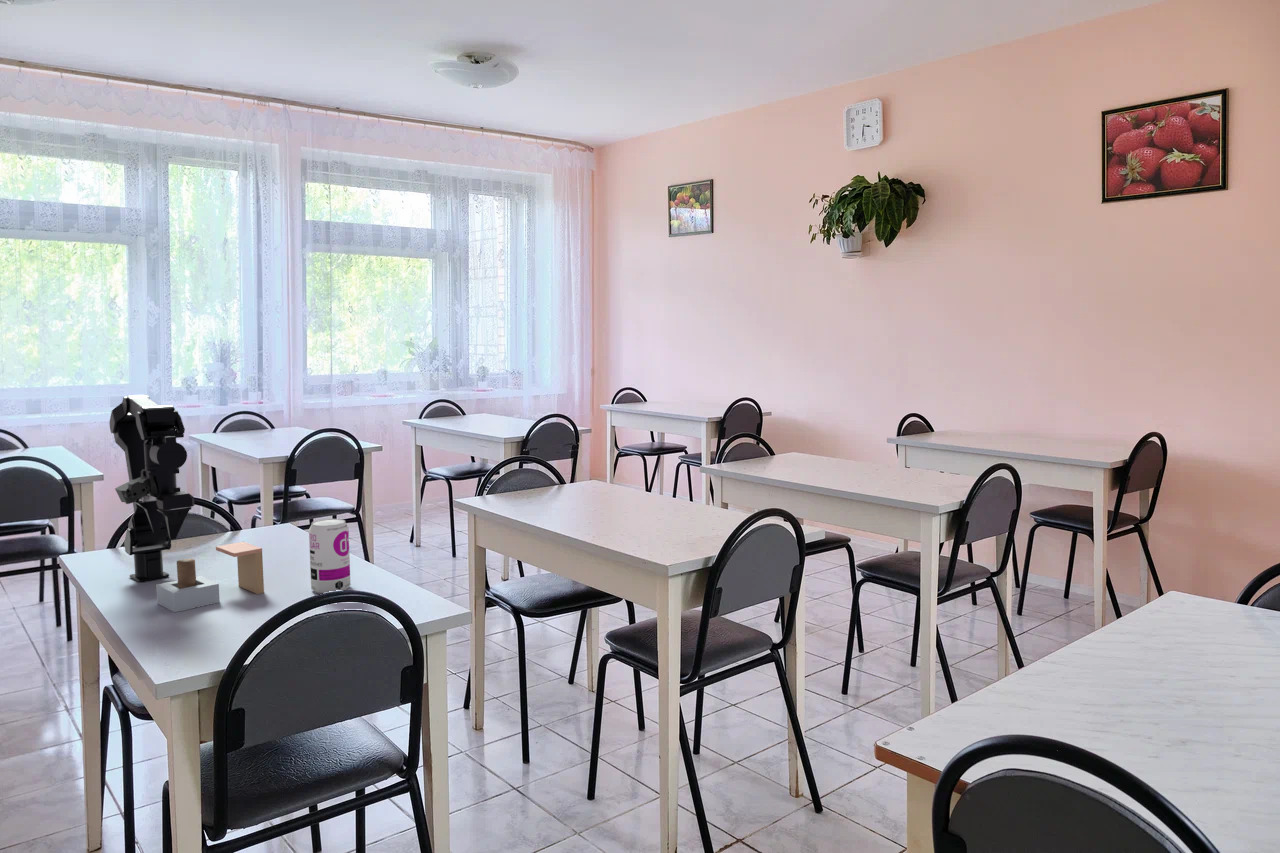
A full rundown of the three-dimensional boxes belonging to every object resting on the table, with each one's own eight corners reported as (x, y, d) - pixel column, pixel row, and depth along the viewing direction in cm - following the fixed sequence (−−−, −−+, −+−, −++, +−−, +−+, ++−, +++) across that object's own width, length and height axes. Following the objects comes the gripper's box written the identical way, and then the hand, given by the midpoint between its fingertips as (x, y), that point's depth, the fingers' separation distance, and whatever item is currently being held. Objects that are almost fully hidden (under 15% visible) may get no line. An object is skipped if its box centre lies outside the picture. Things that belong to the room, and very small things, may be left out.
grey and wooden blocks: (157, 603, 189) (154, 557, 188) (245, 584, 202) (243, 541, 201) (174, 612, 183) (171, 564, 182) (264, 592, 196) (262, 548, 195)
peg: (193, 599, 192) (190, 557, 191) (199, 602, 189) (197, 560, 188) (176, 603, 189) (173, 560, 188) (182, 606, 187) (180, 563, 186)
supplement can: (358, 586, 202) (356, 519, 200) (334, 596, 194) (331, 527, 192) (327, 582, 204) (325, 517, 203) (303, 592, 196) (300, 524, 195)
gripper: (103, 464, 194) (107, 535, 195) (135, 473, 181) (140, 549, 183) (158, 458, 202) (162, 527, 204) (193, 467, 189) (197, 540, 191)
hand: (164, 536), depth 195 cm, fingers open, 9 cm apart
